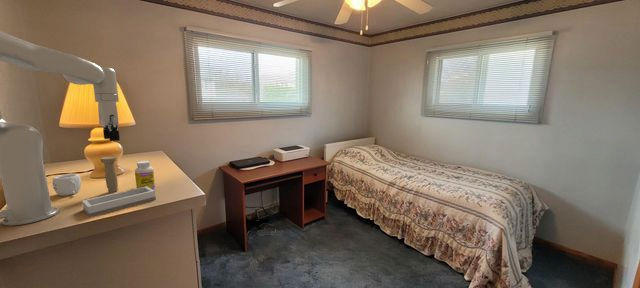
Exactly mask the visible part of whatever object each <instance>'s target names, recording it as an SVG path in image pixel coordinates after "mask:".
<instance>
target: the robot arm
mask: <svg viewBox="0 0 640 288" xmlns="http://www.w3.org/2000/svg"><path fill="white" fill-rule="evenodd" d="M0 62H3V63H5V64H6V63H7V64H9V65H10V64H11V65H13V66H16V67H19V68H22V69H25V70H30V71H31V70H32V71H38V72H48V73H57V74H61V75H63V78H64V79H65V80H66V81H67V82H69V83H71V84H74V85H77V86H78V85H80V86H81V85H84V86H85V85H92V86H93V93H94V94H93V95H94V102H95V103H97V105H98V106H97V109H98V111H97V112H98V125H99V126H101V127H102V128H103V129H102V132H103V139H104V140H109V141H110V142H114V141H115V142H116V141H120V140H121V139H120V131H119V122H120V121H119V114H118V106H117V103H120V99H119V93H118V91H119V90H118V83H117V74H116V71H115V69H114V68H111V67H105V66H99V65H98V64H97V63H94V62H92V61H89V60H87V59H84V58H82V57H79V56H76V55H74V54H70V53H67V52H64V51H59V50H56V49H53V48H50V47H46V46H42V45H38V44H36V43H33V42H29V41H28V40H24V39H21V38H19V37H16V36H13V35H11V34H10V33H9V34H8V33H6V32H4V31H1V30H0ZM2 117H3V115H2V112H1V111H0V179H1V185H2V188H3V194H4V199H5V203H6V206H5V209H2V210H0V220H1V219H2V221H1V223H2V225H4V226H11V227H12V226H21V225H27V224H31V223H35V222H36V223H37V222H40V221H43V220H46V219H49V218H52V217H53V216H55V215H57V214H58V213H59V212H60V210H59V209H60V208H59V207H57V206H52V201H51V197H50V196H51V195H50V189H49V186H48V178H47V174H46V170H45V165H44V156H43V155H44V153H43V149H44V140H43V136H42V134H41V133H40V131H39V130H38V129H36V128H35V127H33V126H32V125H29V124H26V123H17V122H8V121H6V120H5V119H4V118H2Z"/></svg>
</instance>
